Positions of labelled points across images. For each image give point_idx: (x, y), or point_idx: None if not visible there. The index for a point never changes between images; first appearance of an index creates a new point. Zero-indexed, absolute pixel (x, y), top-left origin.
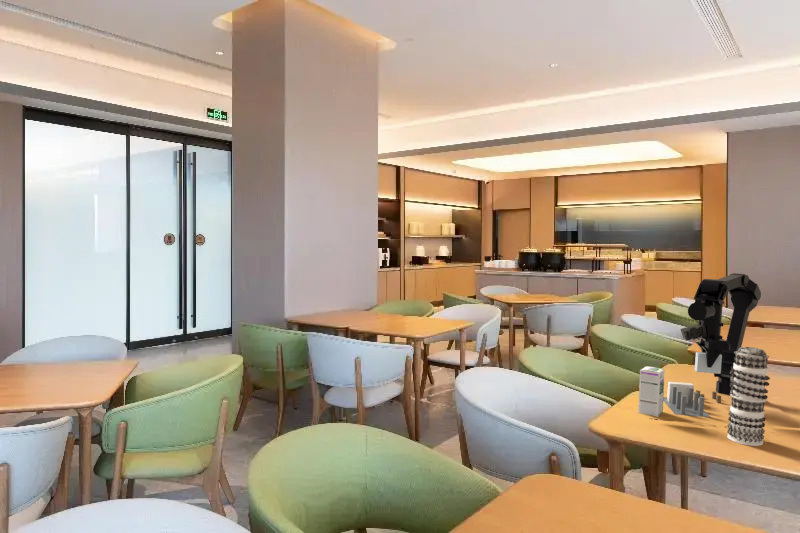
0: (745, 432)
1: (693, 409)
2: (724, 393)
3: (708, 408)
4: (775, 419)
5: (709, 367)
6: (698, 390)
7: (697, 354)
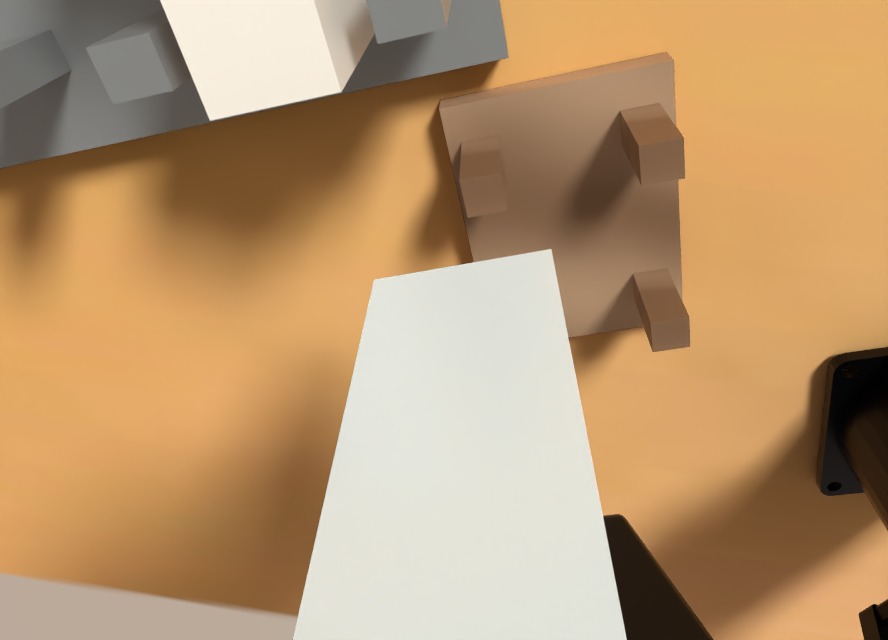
0: None
1: (33, 33)
2: (883, 401)
3: (374, 198)
4: None
5: None
6: (683, 168)
7: None
